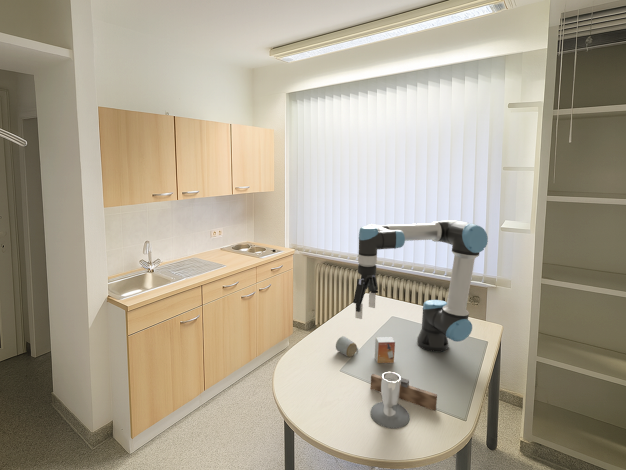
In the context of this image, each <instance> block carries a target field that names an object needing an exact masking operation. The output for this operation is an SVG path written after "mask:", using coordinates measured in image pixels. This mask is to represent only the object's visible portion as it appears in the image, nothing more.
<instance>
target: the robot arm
mask: <svg viewBox="0 0 626 470" xmlns="http://www.w3.org/2000/svg"><path fill="white" fill-rule="evenodd" d="M358 231H359V233H358V255H357V258H358V259H357V260H358V262H357V263H358V265H357V273H358V274H359V275H360V278H357V279H356V280H357V281H356V287H355V293H354V296H353V301H352V304H355V316H354V317H355V319H359V320H362V319H363V308H364V307H363V301H364V297H365V294H366V291H367V290H369V293H368V307H369V308H372V309H375V308H376V294H378V293H379V287H378V282H377V264H378V251H379V250H391V249H392V250H393V249H394V250H396V249H401V248H403V247H404V245H405V243H406V242H407V241H409V242H410V241H411V242H412V241H428V240H429V241H430V240H431V242H439V243H440V242H442V243H446V244H449V245H451V246H452V248H451V252H452V254H453V263H452V269H451V274H450V282H449V286H448V287H449V288H448V292H447V293H448V294H447V301H444V300H440V299H429V300H425V301H424V302H423V307H422V320H421V328H420V332H419V333H418V336H417V339H416V340H417V341H416V343H417V345H418V346H419V347H420V348H422V349H424V350H427V351H429V352H436V353H437V352H445V351H446V350H448V349H449V340H451V341H453V342H462V341H464V340H466V339H467V338H468V337H469V336H470V335H471V334H472V331H473V324H472V322H471V321H470V320H469V315H470V312H469V311H468V310H467V305H468V301H469V294H470V288H471V282H472V278H473V271H474V266H475V260H476V258H477V257H480V253H481V252H483V251H484V249H486V247H487V245H488V242H489V240H488V239H489V238H488V233H487V231H486V230H485V229H484V228H483V227H482V226H480V225H478V224H475V223H469V222H466V221H461V220H454V219H453V220H440V221H439V220H437V221H432V222H431V223H417V224H416V223H412V224H411V223H410V224H386V225H385V224H382V225H381V224H375V223H369V224H367V225H366V226H360V228H359V230H358ZM448 339H449V340H448Z"/></svg>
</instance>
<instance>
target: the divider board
mask: <svg viewBox="0 0 626 470" xmlns="http://www.w3.org/2000/svg"><path fill="white" fill-rule="evenodd" d="M381 382H382V376H381V375H379V374H374V373H372V374H371V375H370V389H371V390H373V391H376V392H379V393H381ZM399 400H402V401H404V402H405V401H406V402H408V403H410V404H413V405H416V406H420V407H421V408H426V409H428V410H430V411H433V412H436V409H437V404H438V403H437V401H438V394H436V393H434V392H430V391H427V390H425V389H421V388H419V387H414V386H413V385H410V380H409V379H407V378H404V377H401V391H400V396H399Z"/></svg>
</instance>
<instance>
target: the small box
mask: <svg viewBox="0 0 626 470" xmlns="http://www.w3.org/2000/svg"><path fill="white" fill-rule="evenodd" d="M374 344H375V345H374V359H375V360H376V363H377V364H393V363H395V348H396V341H395V340H394V337H392V336H379V337H378V336H376V337H375V343H374Z"/></svg>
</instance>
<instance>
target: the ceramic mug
mask: <svg viewBox="0 0 626 470" xmlns="http://www.w3.org/2000/svg"><path fill="white" fill-rule="evenodd" d="M335 350H336V351H337V352H339V353H341V354H343V355H345V356H346V357H348V358H350V357H351V358H352V357H354V355H355V354H356V353H357V352H359V347H358V346H357V344H356V343H355V342H354V341H353V340H352V339H349V338H348V337H347V336H343V335H342V336H340V337H339V338H337V341H336V343H335Z"/></svg>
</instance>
